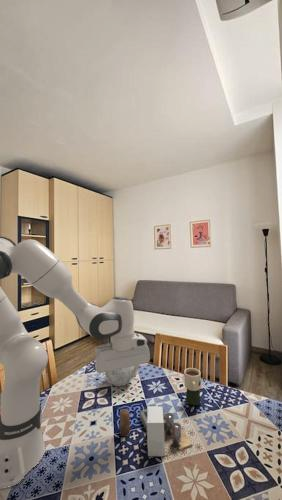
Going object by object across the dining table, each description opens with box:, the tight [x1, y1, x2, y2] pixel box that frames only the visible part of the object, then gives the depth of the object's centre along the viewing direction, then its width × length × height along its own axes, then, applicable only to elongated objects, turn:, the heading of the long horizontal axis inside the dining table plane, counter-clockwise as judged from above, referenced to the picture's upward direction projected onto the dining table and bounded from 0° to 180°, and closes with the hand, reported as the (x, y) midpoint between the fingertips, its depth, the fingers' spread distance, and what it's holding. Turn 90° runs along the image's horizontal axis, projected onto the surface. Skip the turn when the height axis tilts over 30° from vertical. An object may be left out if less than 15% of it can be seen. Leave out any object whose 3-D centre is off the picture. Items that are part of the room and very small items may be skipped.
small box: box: [146, 405, 166, 457], centre depth 72 cm, size 8×6×10 cm
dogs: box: [165, 412, 193, 451], centre depth 75 cm, size 6×10×6 cm, turn 20°
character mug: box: [183, 367, 202, 406], centre depth 93 cm, size 11×7×13 cm, turn 173°
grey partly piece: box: [139, 404, 167, 432], centre depth 82 cm, size 9×9×2 cm
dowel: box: [119, 408, 131, 437], centre depth 78 cm, size 4×4×7 cm
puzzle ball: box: [104, 366, 134, 387], centre depth 108 cm, size 15×15×15 cm
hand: (123, 378), depth 78 cm, fingers open, 6 cm apart
